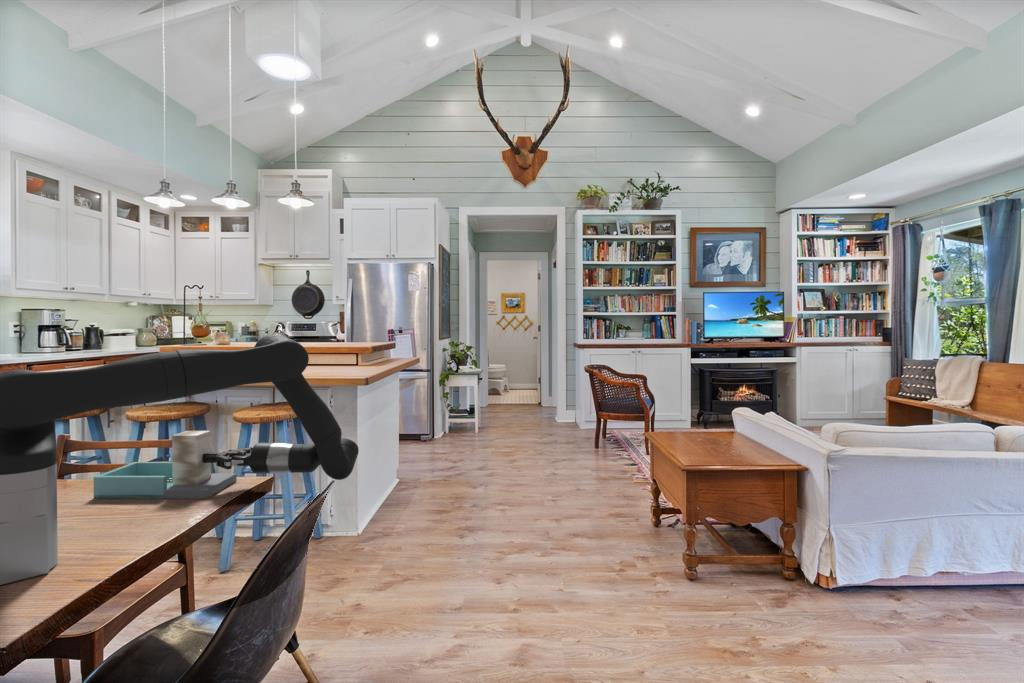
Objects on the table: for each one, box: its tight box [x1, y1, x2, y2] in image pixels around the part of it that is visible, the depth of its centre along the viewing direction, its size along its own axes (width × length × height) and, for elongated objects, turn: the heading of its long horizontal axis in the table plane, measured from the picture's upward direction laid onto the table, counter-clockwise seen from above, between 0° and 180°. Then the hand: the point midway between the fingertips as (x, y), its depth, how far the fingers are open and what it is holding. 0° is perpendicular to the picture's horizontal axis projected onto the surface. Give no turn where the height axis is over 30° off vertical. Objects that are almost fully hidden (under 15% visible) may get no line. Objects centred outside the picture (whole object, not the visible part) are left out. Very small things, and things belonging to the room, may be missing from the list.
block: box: [171, 430, 212, 485], centre depth 129 cm, size 6×6×12 cm
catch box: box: [93, 461, 173, 499], centre depth 128 cm, size 16×14×5 cm
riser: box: [163, 472, 238, 499], centre depth 129 cm, size 10×14×2 cm
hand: (204, 457), depth 129 cm, fingers closed
